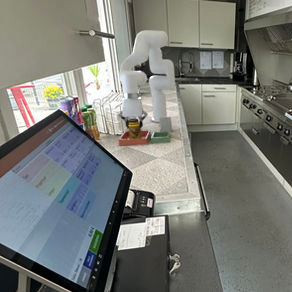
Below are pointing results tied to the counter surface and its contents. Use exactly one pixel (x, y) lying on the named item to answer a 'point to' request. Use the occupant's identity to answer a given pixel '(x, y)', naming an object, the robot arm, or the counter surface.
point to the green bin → (160, 137)
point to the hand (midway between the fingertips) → (134, 127)
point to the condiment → (134, 129)
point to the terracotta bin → (125, 141)
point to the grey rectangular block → (165, 124)
